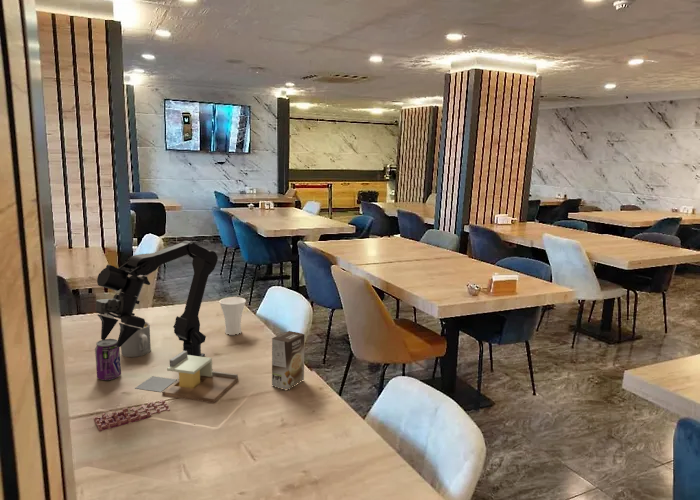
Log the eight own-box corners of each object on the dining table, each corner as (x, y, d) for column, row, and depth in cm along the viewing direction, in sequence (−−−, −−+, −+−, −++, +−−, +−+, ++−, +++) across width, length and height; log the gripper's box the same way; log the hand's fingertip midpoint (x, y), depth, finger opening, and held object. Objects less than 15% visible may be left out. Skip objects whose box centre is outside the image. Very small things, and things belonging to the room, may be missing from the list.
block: (187, 381, 165) (186, 363, 164) (200, 383, 164) (199, 365, 163) (179, 387, 161) (178, 369, 159) (192, 389, 160) (191, 371, 158)
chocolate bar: (172, 413, 147) (172, 406, 147) (99, 433, 136) (99, 426, 136) (164, 403, 153) (164, 396, 153) (94, 421, 142) (93, 414, 141)
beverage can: (112, 383, 164) (109, 347, 162) (92, 380, 165) (89, 344, 163) (125, 373, 171) (123, 339, 168) (106, 371, 172) (104, 337, 170)
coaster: (152, 377, 168) (152, 376, 168) (177, 381, 166) (177, 379, 166) (134, 389, 160) (134, 388, 159) (160, 393, 157) (160, 391, 157)
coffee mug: (118, 350, 190) (116, 324, 189) (146, 344, 196) (145, 319, 194) (127, 362, 180) (125, 335, 178) (156, 356, 185) (155, 329, 184)
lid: (187, 372, 169) (186, 348, 167) (212, 375, 167) (211, 352, 165) (167, 386, 158) (166, 361, 157) (194, 390, 156) (193, 365, 155)
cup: (214, 333, 210) (213, 301, 207) (233, 326, 218) (232, 295, 216) (233, 339, 204) (232, 306, 202) (251, 331, 213) (251, 299, 210)
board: (190, 374, 171) (190, 367, 170) (238, 381, 167) (238, 374, 167) (162, 396, 156) (162, 388, 155) (213, 404, 152) (213, 396, 151)
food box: (287, 391, 161) (287, 342, 158) (271, 386, 164) (271, 338, 161) (304, 380, 169) (305, 333, 166) (288, 376, 172) (288, 330, 169)
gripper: (90, 282, 161) (70, 331, 158) (122, 293, 150) (101, 345, 147) (121, 291, 170) (103, 338, 167) (154, 302, 159) (135, 352, 156)
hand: (110, 343), depth 159 cm, fingers open, 9 cm apart
